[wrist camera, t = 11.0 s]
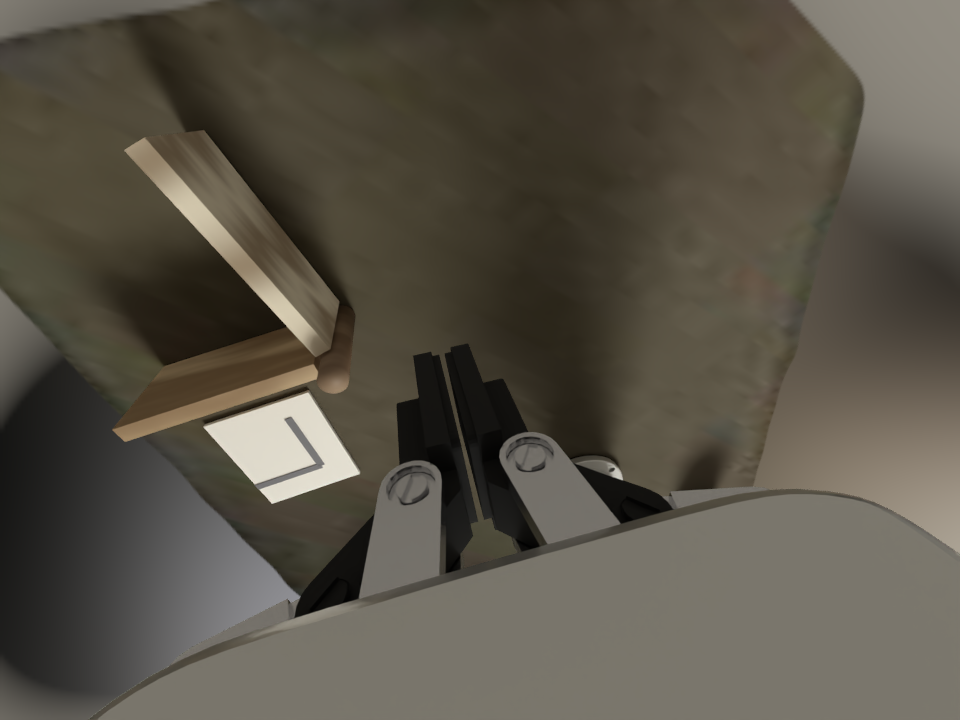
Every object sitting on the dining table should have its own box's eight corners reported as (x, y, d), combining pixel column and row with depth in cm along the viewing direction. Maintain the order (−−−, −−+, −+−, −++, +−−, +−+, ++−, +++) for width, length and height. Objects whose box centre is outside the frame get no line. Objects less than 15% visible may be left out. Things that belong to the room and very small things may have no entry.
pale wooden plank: (339, 301, 34) (330, 348, 27) (327, 308, 34) (315, 357, 27) (203, 129, 26) (144, 137, 19) (188, 139, 26) (124, 150, 19)
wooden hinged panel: (358, 322, 35) (353, 387, 27) (176, 380, 34) (113, 467, 26) (349, 302, 34) (340, 364, 26) (160, 362, 33) (89, 446, 25)
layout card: (360, 470, 44) (360, 474, 44) (272, 500, 44) (272, 504, 43) (308, 389, 38) (308, 393, 37) (205, 424, 37) (202, 427, 37)
